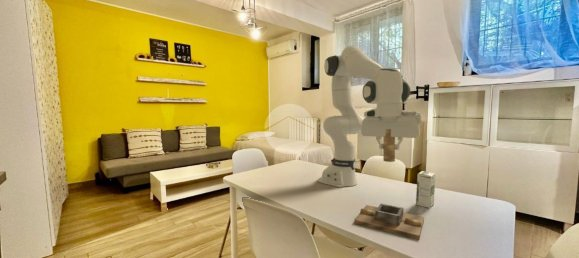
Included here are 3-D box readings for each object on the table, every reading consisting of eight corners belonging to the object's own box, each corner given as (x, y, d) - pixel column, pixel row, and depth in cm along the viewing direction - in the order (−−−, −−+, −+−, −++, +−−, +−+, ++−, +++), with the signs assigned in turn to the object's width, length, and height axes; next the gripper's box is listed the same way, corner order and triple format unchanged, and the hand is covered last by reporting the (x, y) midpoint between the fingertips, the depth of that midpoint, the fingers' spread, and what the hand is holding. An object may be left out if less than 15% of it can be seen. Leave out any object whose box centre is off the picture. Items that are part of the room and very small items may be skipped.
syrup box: (420, 201, 113) (421, 170, 112) (434, 204, 109) (435, 172, 108) (415, 205, 109) (416, 173, 108) (430, 208, 105) (431, 175, 104)
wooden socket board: (354, 223, 93) (354, 210, 93) (366, 208, 107) (366, 197, 106) (419, 239, 81) (419, 225, 81) (423, 220, 95) (424, 208, 94)
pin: (382, 161, 92) (382, 129, 91) (384, 159, 95) (384, 128, 94) (393, 162, 90) (393, 129, 89) (395, 160, 93) (396, 128, 92)
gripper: (421, 111, 88) (421, 149, 89) (364, 112, 99) (364, 146, 100) (419, 111, 83) (419, 152, 84) (359, 112, 94) (359, 148, 95)
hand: (389, 148), depth 92 cm, fingers closed on pin, 4 cm apart
